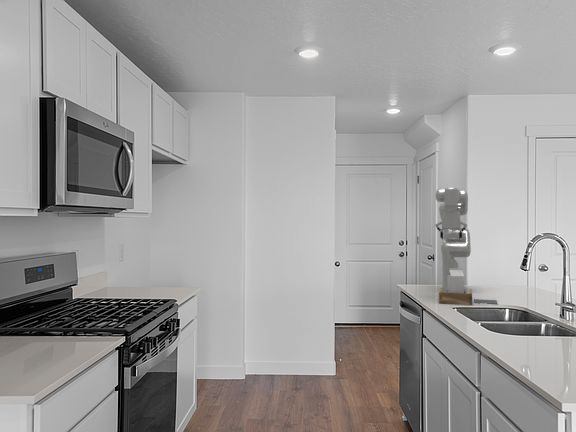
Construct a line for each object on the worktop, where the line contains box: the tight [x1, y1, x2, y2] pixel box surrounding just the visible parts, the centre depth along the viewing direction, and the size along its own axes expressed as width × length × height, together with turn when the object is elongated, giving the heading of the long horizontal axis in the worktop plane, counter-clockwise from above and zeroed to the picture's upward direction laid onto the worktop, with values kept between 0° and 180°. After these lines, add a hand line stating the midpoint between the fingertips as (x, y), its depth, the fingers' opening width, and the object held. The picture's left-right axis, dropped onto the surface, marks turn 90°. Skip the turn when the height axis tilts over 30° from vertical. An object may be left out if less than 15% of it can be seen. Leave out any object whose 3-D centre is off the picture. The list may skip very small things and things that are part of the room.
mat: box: [473, 298, 499, 305], centre depth 279 cm, size 12×12×1 cm
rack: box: [438, 287, 473, 306], centre depth 280 cm, size 18×17×6 cm
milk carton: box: [447, 267, 465, 293], centre depth 278 cm, size 7×7×19 cm
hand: (451, 239), depth 287 cm, fingers open, 9 cm apart
